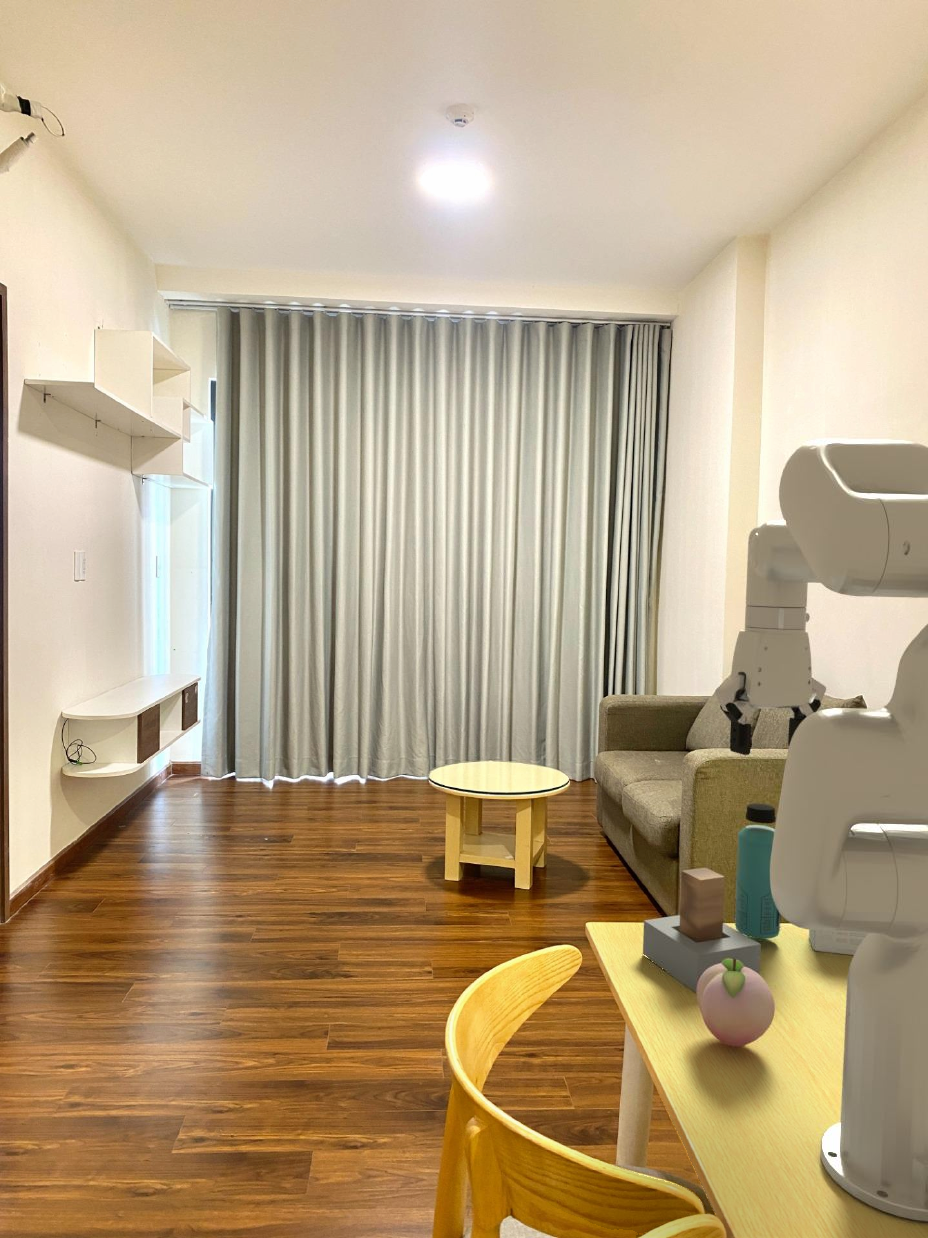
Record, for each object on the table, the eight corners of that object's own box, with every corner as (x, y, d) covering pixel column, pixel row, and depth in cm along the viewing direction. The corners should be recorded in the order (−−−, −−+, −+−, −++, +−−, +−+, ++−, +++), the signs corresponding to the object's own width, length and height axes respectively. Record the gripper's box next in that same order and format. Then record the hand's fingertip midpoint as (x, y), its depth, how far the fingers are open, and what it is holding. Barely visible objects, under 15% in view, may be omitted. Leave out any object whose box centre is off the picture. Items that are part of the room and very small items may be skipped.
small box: (865, 943, 132) (869, 872, 132) (873, 958, 127) (876, 885, 126) (807, 936, 134) (810, 866, 134) (812, 951, 129) (815, 878, 128)
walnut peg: (721, 965, 121) (724, 876, 120) (697, 969, 119) (700, 880, 119) (701, 953, 125) (705, 867, 124) (678, 957, 123) (681, 870, 122)
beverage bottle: (783, 951, 128) (789, 812, 127) (734, 946, 130) (740, 809, 129) (776, 934, 135) (782, 801, 134) (730, 929, 136) (735, 798, 135)
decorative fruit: (781, 1071, 97) (785, 980, 96) (703, 1065, 98) (707, 974, 97) (761, 1027, 106) (765, 944, 106) (690, 1022, 107) (694, 940, 106)
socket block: (759, 981, 118) (760, 944, 118) (696, 993, 115) (698, 955, 114) (701, 946, 129) (702, 911, 129) (642, 955, 126) (644, 920, 125)
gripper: (805, 619, 124) (799, 742, 125) (702, 618, 117) (697, 749, 118) (847, 622, 117) (841, 753, 118) (741, 622, 111) (735, 760, 111)
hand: (769, 751), depth 118 cm, fingers open, 9 cm apart
